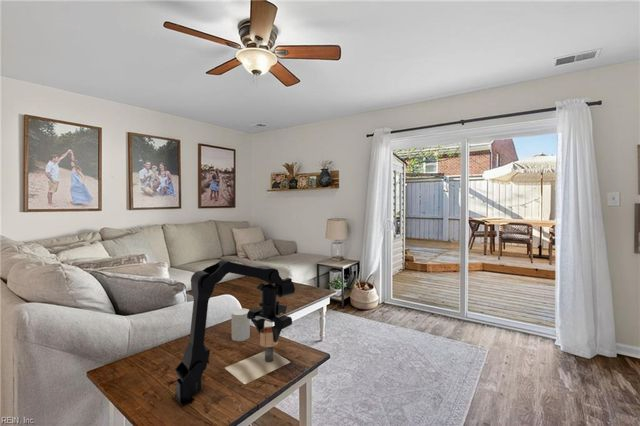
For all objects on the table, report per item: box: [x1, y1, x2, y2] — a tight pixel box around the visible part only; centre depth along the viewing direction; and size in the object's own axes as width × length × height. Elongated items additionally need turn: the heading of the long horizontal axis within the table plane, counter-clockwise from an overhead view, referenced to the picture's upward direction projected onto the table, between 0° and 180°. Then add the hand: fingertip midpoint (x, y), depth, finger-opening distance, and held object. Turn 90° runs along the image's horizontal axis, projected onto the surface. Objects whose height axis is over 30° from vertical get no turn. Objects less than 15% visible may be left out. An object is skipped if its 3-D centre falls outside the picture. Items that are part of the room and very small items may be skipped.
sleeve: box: [259, 325, 279, 348], centre depth 115 cm, size 7×7×5 cm
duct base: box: [224, 346, 291, 385], centre depth 112 cm, size 20×14×6 cm
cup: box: [231, 308, 251, 342], centre depth 137 cm, size 8×8×12 cm
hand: (269, 339), depth 115 cm, fingers closed on sleeve, 7 cm apart
